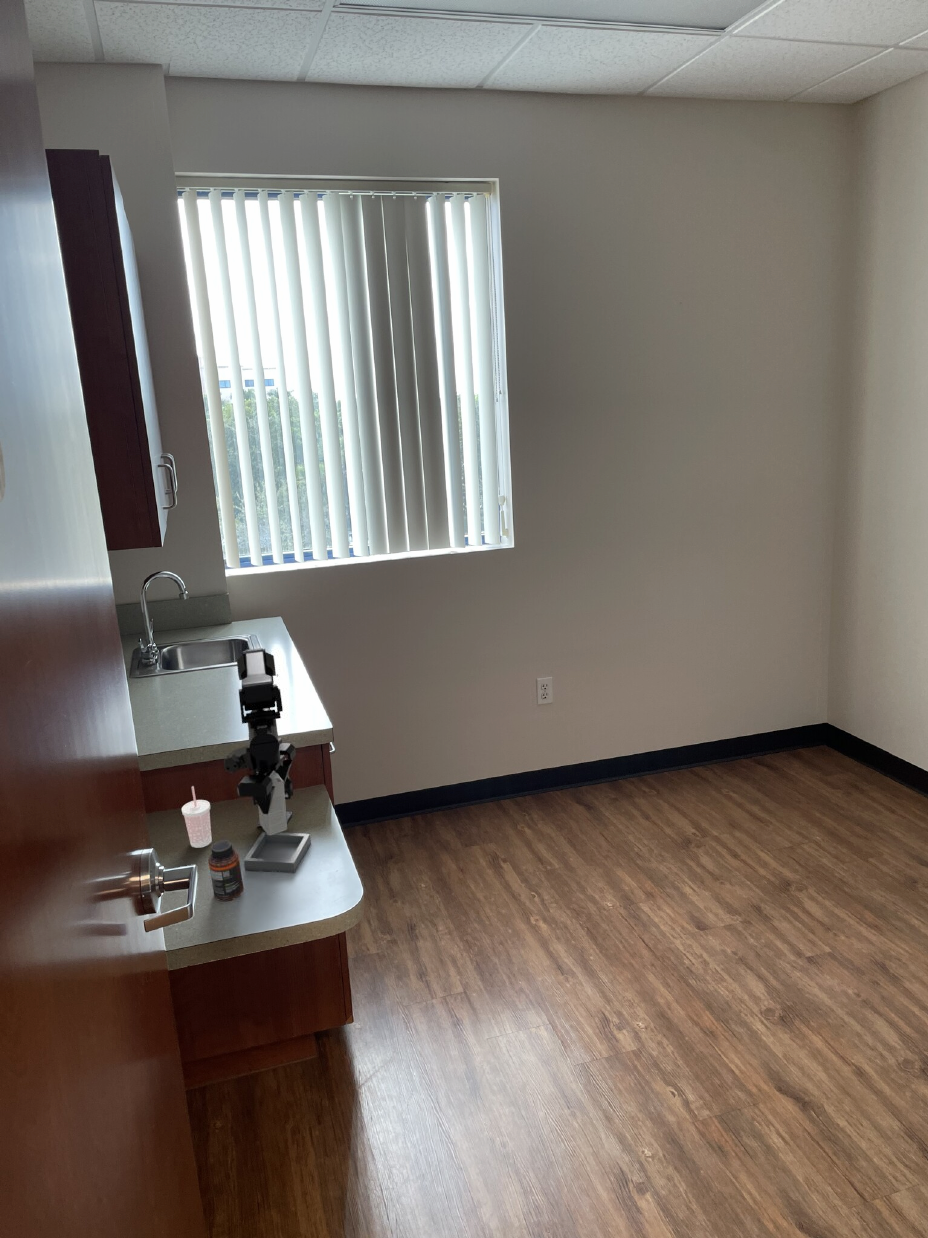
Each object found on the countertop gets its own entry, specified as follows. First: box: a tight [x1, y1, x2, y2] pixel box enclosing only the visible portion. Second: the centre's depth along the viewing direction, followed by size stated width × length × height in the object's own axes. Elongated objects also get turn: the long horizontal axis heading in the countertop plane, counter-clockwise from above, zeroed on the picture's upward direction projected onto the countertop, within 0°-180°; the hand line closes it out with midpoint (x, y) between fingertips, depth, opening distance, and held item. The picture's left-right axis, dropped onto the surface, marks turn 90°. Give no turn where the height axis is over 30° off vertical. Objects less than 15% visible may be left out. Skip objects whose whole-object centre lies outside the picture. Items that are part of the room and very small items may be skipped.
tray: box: [243, 831, 312, 874], centre depth 184 cm, size 11×11×2 cm
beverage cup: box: [181, 785, 213, 849], centre depth 189 cm, size 6×6×14 cm
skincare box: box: [257, 771, 288, 835], centre depth 181 cm, size 6×4×12 cm
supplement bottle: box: [208, 839, 244, 902], centre depth 171 cm, size 6×6×11 cm
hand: (272, 804), depth 181 cm, fingers closed on skincare box, 7 cm apart
